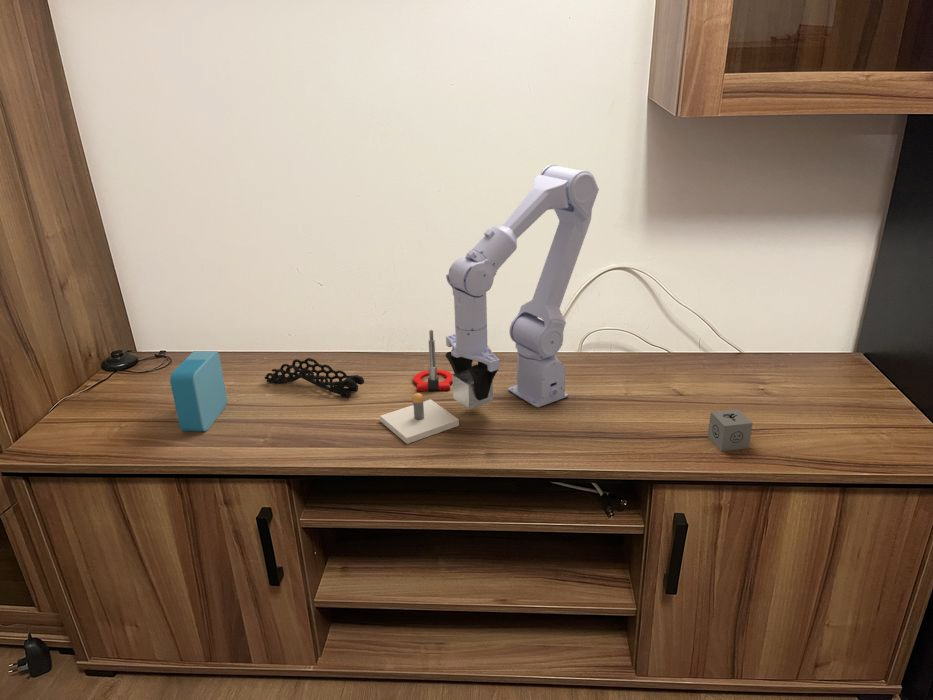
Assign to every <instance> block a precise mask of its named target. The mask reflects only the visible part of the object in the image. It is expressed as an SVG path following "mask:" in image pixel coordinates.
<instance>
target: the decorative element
mask: <svg viewBox="0 0 933 700" xmlns="http://www.w3.org/2000/svg"><path fill="white" fill-rule="evenodd" d="M309 362H311V363H314V364H311V363H309ZM296 363H298V365H299V366H297V365H296ZM303 364H305V365H306V366H305V367H303ZM285 367H286V369H285V370H284V368H285ZM316 367H318V368H320V370H317V369H316ZM309 368H311V369H309ZM325 368H326V369H328V370H325ZM291 369H293V370H294V371H291ZM271 371H272V372H268V373H267V374H266V375H265V376H264V379H265V380H266V383H269V384H273V383H274V384H275V385H278V384H279V385H281V384H282V385H284V384H287V383H292V382H293V383H294V382H296V381H298V380H299V379H303V380H305V381H307V382H309V383H311V384H313V385H315V386H316V387H318V388H321V389H325V390H327V391H329V392H330V393H333V394H337V395H340V397H341V398H342V399H348V400H349V398H351V397H352V392H354V393H356V392H357V391H358V390H359V385H361V386H362V385H363V384H364V383H365V380H364V377H363V376H360V375H358V374H354V375H353V374H352V375H347V374H346V373H345V371H343V370H341V369H339V370H334V369H333V368H332V367H331V366H330V365H328V364H326V363H325V364H321V363H319V362H318V361H317V360H316V359H314V358H311V357H309V358H306V359H304V360H300V359H297V358H296V359H294V360H293V361H292V364H289V363H283V364H282V365H281V366H280V368H273V369H271ZM279 373H280V374H279ZM315 374H316V375H315ZM320 374H325V375H320ZM330 374H334V376H329V375H330ZM338 374H341V376H340V375H338ZM286 375H288V376H286ZM270 377H271V378H270ZM335 379H338V381H337V380H336V381H333V380H335ZM274 384H273V385H274Z"/></svg>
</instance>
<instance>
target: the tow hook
mask: <svg viewBox="0 0 933 700" xmlns="http://www.w3.org/2000/svg"><path fill="white" fill-rule="evenodd" d="M428 335H429V336H428V337H429V340H428V356H429V366H428V370H427V369H426V370H422V371H420V372H417V373H416V374H414V376H413V384H414V385H416V391H417V392H427V391H428V392H439V391H451V385H453V381H452V374H453V373H452V372H450V371H448V370H443V369H438V367H437V366H436V342H435V341H436V340H434V330H432V329H431V330H429V331H428ZM438 376H441V377H443V378H445V379H444V380H442V381H439V380H440V379H439V377H438ZM426 377H427V381H424V380H423V378H426Z"/></svg>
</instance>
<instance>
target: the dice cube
mask: <svg viewBox="0 0 933 700" xmlns="http://www.w3.org/2000/svg"><path fill="white" fill-rule="evenodd" d="M709 414H710V415H709V423H708V429H707V430H708V431H707V438H708V439H709V440H710V441H711V442H712V443H713V444H714V445H715V446H716V448H717V449H718V450H719V451H720V452H727V451H729V452H730V451H737V450H746V449H747V450H748V449H749V448H750V441H751V435H752V429H753V422H752V421H751V420H750V419H749V418H748V417H747V416H746V415H745V414H744V413H743V412H742V411H740V409H738V408H737V409H725V410H718V411H717V410H716V411H710V413H709Z"/></svg>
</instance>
